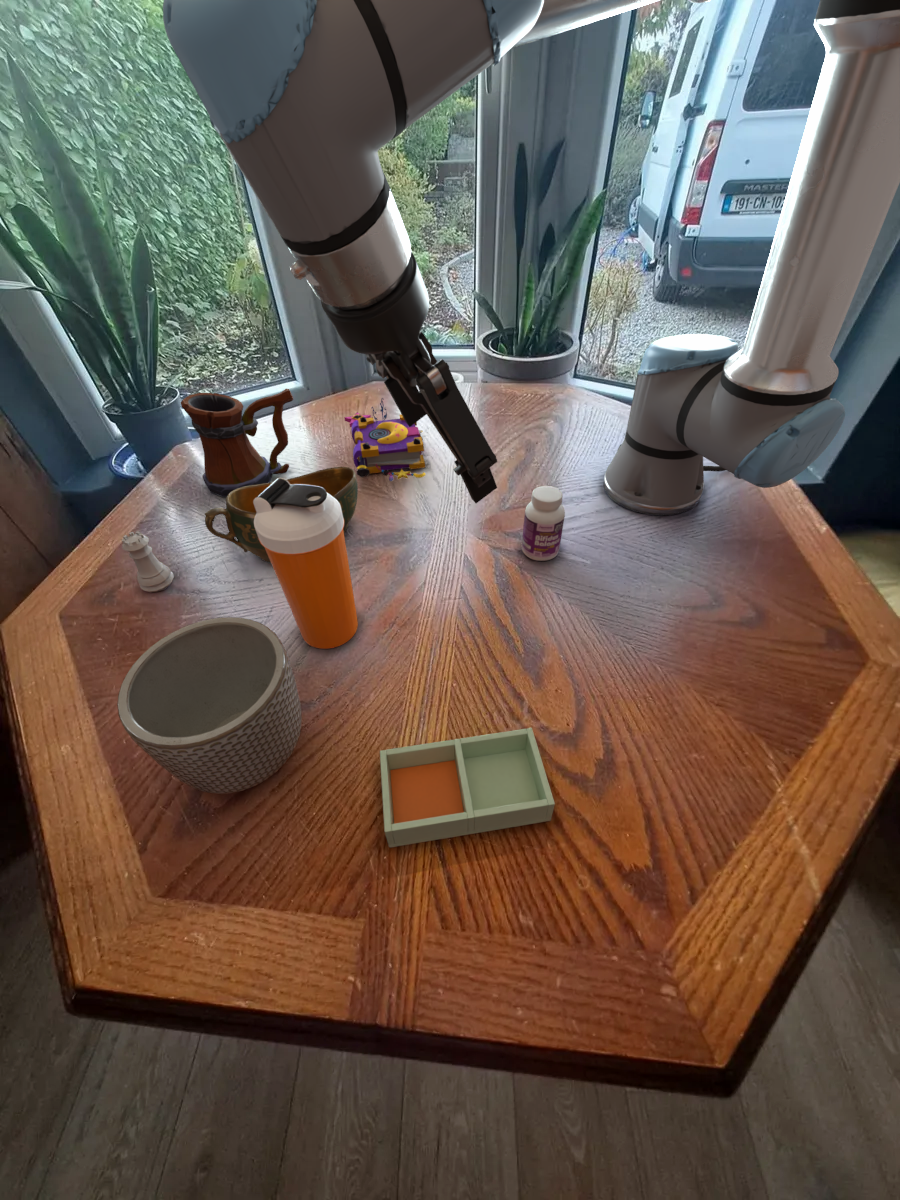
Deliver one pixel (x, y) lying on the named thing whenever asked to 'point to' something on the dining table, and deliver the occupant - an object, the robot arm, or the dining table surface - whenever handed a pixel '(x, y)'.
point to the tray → (463, 787)
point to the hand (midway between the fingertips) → (449, 453)
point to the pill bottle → (543, 524)
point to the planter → (214, 704)
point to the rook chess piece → (147, 563)
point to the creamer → (241, 499)
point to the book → (386, 445)
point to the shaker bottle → (309, 559)
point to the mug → (235, 439)
